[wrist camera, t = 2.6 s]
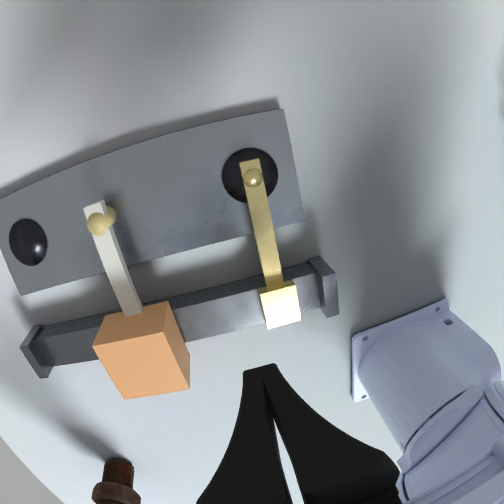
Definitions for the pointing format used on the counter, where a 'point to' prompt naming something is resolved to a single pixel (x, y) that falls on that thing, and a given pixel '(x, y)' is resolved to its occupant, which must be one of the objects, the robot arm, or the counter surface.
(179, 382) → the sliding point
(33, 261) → the hole plate
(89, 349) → the rail
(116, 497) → the bolt
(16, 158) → the counter surface
